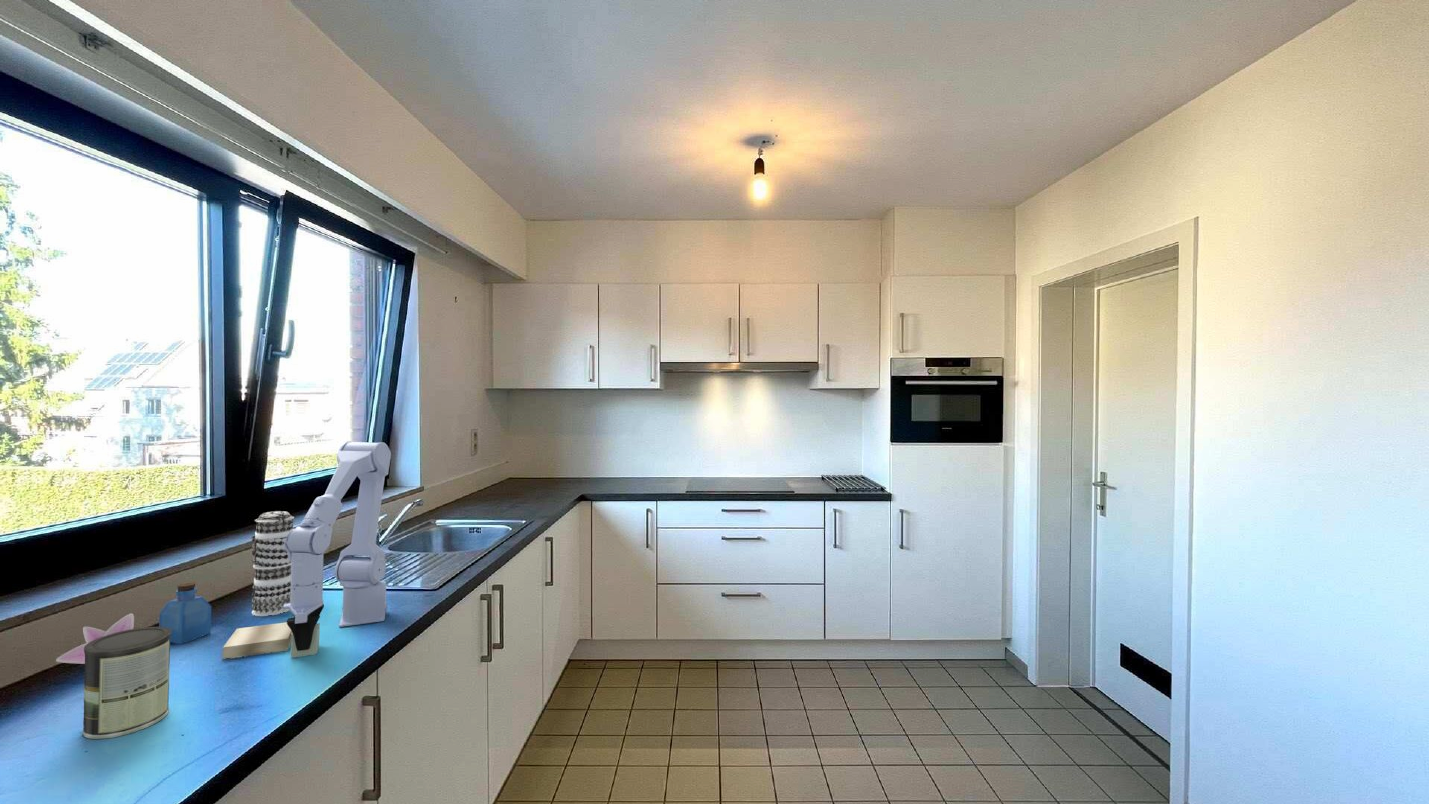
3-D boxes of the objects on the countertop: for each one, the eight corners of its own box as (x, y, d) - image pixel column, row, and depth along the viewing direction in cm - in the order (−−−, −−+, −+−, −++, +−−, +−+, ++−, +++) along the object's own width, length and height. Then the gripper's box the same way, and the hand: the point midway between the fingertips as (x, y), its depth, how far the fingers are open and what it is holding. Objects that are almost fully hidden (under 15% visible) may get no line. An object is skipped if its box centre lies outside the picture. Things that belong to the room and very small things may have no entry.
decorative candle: (282, 616, 144) (284, 516, 144) (240, 617, 143) (243, 516, 143) (302, 603, 153) (304, 509, 153) (263, 604, 152) (266, 509, 152)
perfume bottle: (180, 644, 127) (182, 589, 127) (158, 641, 129) (160, 587, 129) (210, 633, 133) (211, 581, 133) (189, 630, 135) (190, 579, 135)
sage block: (319, 645, 128) (319, 623, 128) (316, 653, 124) (316, 630, 124) (294, 649, 126) (294, 626, 126) (290, 657, 122) (291, 634, 122)
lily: (42, 692, 108) (51, 653, 106) (83, 644, 118) (93, 608, 116) (124, 699, 113) (135, 662, 111) (157, 652, 123) (167, 618, 121)
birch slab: (296, 633, 135) (296, 621, 135) (287, 652, 126) (287, 638, 126) (236, 641, 130) (236, 628, 130) (222, 661, 120) (222, 647, 120)
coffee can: (61, 740, 91) (64, 651, 91) (122, 706, 102) (124, 626, 102) (132, 739, 92) (134, 651, 92) (185, 705, 103) (187, 626, 103)
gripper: (290, 575, 130) (288, 635, 130) (277, 594, 117) (275, 662, 117) (328, 571, 133) (326, 630, 133) (319, 590, 120) (317, 655, 120)
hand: (305, 645), depth 125 cm, fingers closed on sage block, 4 cm apart
